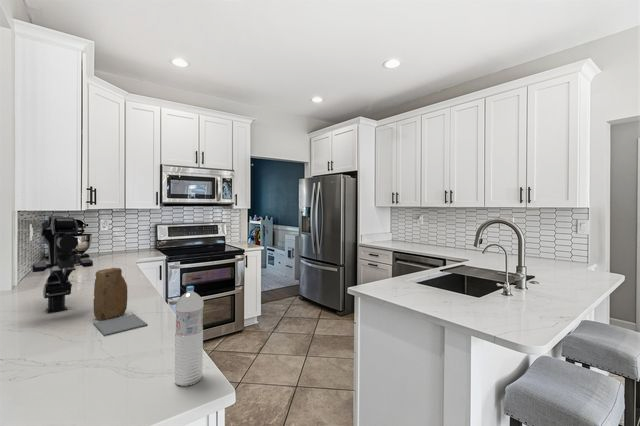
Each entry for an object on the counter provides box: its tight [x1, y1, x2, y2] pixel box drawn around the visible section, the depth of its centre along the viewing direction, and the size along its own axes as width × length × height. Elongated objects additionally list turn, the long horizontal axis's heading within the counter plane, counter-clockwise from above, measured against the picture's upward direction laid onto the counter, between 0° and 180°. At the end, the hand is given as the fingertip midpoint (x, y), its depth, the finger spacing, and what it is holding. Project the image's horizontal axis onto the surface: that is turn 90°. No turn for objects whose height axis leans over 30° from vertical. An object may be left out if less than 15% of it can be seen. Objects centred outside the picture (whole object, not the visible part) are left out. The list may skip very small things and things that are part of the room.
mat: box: [92, 313, 148, 337], centre depth 117 cm, size 16×14×1 cm
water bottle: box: [174, 285, 205, 387], centre depth 81 cm, size 7×7×25 cm
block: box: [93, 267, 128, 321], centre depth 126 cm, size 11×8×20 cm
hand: (63, 286), depth 124 cm, fingers closed
